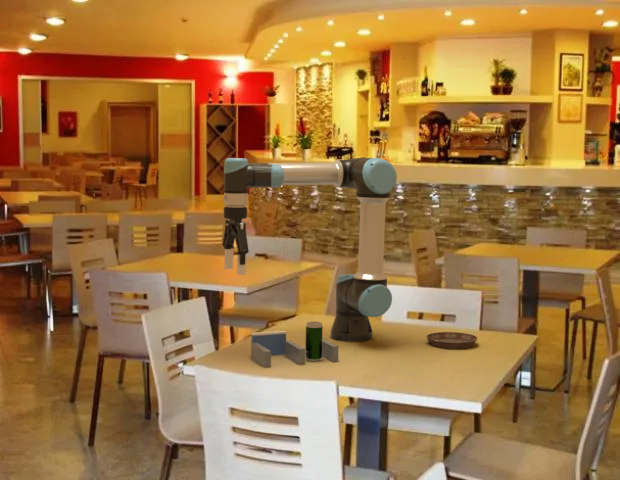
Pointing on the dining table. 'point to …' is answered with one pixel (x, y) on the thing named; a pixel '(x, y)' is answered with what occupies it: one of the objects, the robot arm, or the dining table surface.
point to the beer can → (313, 341)
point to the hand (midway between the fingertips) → (234, 271)
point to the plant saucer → (451, 339)
